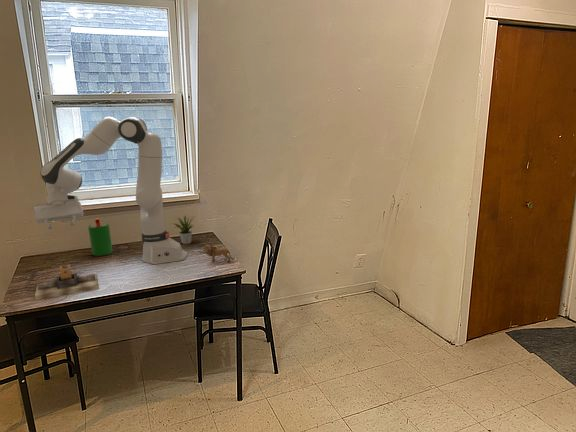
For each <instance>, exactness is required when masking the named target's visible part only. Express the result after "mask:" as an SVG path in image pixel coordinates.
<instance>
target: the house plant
mask: <svg viewBox="0 0 576 432" xmlns="http://www.w3.org/2000/svg"><path fill="white" fill-rule="evenodd" d="M195 217H196V215H194V216H193V217H191V216H189V217H188V218H187V215H186V214H185V215H184V216H183V218H181V217H175V219H174V220H175V221H176V222H177V223H175V222H172V224H173V225H175V226H174V227H173V229H174V228H178V229H180V231H179V233H178V234H179V239H180V240H181V244H182V243H183V245H189V244H191V243H192V234H193V231H192V230H190V229H192V228H194V225H193V224H191V223H192V222H193V221H194V220H195V219H194V218H195ZM190 218H191V219H190ZM176 219H177V220H178V221H177V220H176ZM189 219H190V220H189Z"/></svg>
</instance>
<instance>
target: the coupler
mask: <svg viewBox="0 0 576 432" xmlns="http://www.w3.org/2000/svg"><path fill="white" fill-rule="evenodd" d="M59 273H60V275H59V276H61V280H62V281H64V280H69V279H73V278H72V274H73V273H72V267H71V264H65V265H60V266H59Z"/></svg>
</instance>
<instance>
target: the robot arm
mask: <svg viewBox="0 0 576 432" xmlns="http://www.w3.org/2000/svg"><path fill="white" fill-rule="evenodd" d="M120 138H122V139H123V140H125V141H128V142H131V143H134V144H136V145H137V147H138V149H137V151H138V153H137V157H138V158H137V159H138V161H137V179H136V187H135V201H136V204H137V205H138V207H140V219H139V220H140V226H141V227H140V228H141V244H142V246H143V247H142V256H141V261H142V262H143V263H147V264H151V265H161V264H167V263H172V262H173V263H174V262H179V261H184V260H185V259H186V258H187V257H188V253H187V251H186V250H184V249H183V248H182V245H181V244H180V242H178V241H176V240H175V239H173V238H171V237H170V232H169V230H165V220H164V205H163V204H164V203H163V202H164V199H163V190H162V187H161V182H162V181H161V179H162V173H163V172H162V168H163V147H162V141H161V140H162V139H161V137H160V136H159V135H158V134H156V133H153V132H149V131H147V125H146V123H145V121H144V120H143V119H141V118H139V117H135V116H129V117H125V118H123V119H122V120H121V121H120V120H118V119H117V118H115V117H112V116H106V117H103V118H102V119H101V120H100V121H99V122H98V123H97V124H96V125H94V127H93V128H92V129H91V130H90V132H88V134H86V135H84V136H83V137H78V138H76V139H73V141H71V142H70V143H69V144H68V145H67V146H65V148H64V149H62V150H61V151H60V152H59V153H58V154H57V155H56V156H55V157H54V158H52V159H51V160H50V161H48V162H47V163H45V164H44V165H43V166H42V167H41V169H40V177H41V179H42V180H43V182H44V183H45V190H46V193H47V195H46V198H47V203H43V204H41V203H40V204H39V203H38V204H37V205H35V206H34V207H33V212H34V220H35V222H36V223H38V224H40V223H44V224H45V225H46V226H47V229H48V230H51V229H53V228H52V227H53V226H52V223H49V222H54V221H62V220H63V221H64V220H69V219H72V220H70V226H71V227H73V226H75V222H76V221H77V218H78V219H79V218H82V217H83V216H84V209H83V205H82V204H81V201H79V196H77V195H74V194H73V195H72V194H71V193H73V192H75V191H77V190H78V189H80V188H81V187H82V185H83V184H82V183H83V178H82V174H81V173H79V172H78V171H75V170H73V169H70V168H68V167H65V166H66V165H67V164H68V163H69V162H71V161H72V160H73V159H74V158H75V157H77V156H79V155H92V156H101V155H104V154H106V153H107V152H108V151H109V150H110V149H111V148H112V146H113V145H114V144H115V142H116V141H117V140H119V139H120Z"/></svg>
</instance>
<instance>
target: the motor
mask: <svg viewBox="0 0 576 432" xmlns="http://www.w3.org/2000/svg"><path fill="white" fill-rule="evenodd" d="M87 227H88V233H89V241H90V246H91V254H92V256H94V257H98V256H99V257H100V256H107V255H110V254H112V253H113V244H112V237H111V231H110V224H109V223H106V224H105V225H101V221H100V218H99V217H98V218H97V217H96V218H95V226H94V227H93V226H92V225H91V224H89V225H88V226H87Z"/></svg>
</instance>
